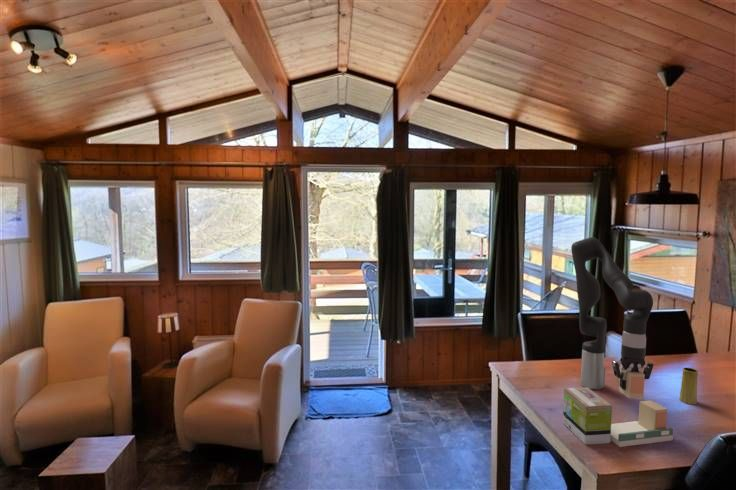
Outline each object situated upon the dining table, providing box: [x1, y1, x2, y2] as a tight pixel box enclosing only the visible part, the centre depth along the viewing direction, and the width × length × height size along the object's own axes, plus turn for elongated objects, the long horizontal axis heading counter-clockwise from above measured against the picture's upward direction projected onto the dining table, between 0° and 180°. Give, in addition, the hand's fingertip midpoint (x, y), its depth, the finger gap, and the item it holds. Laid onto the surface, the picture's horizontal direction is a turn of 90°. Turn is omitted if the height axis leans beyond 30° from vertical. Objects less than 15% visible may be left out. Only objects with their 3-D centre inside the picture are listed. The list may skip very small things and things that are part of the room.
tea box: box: [562, 386, 613, 445], centre depth 156 cm, size 15×10×15 cm, turn 5°
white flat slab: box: [610, 420, 674, 448], centre depth 155 cm, size 22×11×4 cm, turn 101°
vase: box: [679, 367, 699, 405], centre depth 181 cm, size 6×6×14 cm
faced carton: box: [637, 400, 668, 430], centre depth 156 cm, size 5×7×9 cm
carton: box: [618, 366, 646, 400], centre depth 154 cm, size 5×7×9 cm
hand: (630, 389), depth 155 cm, fingers closed on carton, 5 cm apart
